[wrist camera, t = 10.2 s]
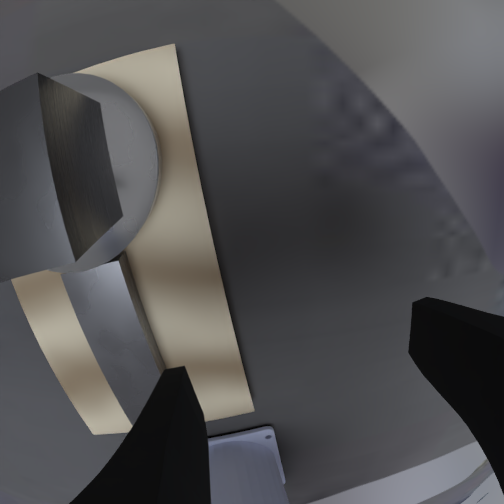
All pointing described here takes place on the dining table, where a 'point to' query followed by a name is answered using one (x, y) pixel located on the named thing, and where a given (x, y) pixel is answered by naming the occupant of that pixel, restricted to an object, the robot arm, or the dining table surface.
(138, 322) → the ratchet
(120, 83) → the board
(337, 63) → the dining table surface
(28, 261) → the charcoal matte cube
